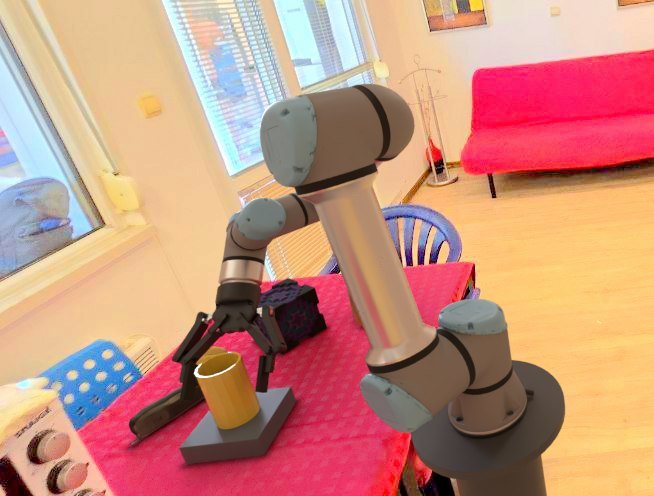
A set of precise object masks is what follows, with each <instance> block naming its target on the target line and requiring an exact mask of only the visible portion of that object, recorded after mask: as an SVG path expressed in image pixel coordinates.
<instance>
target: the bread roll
mask: <svg viewBox="0 0 654 496" xmlns="http://www.w3.org/2000/svg"><path fill="white" fill-rule="evenodd" d="M225 352H228V351H227V349H225V348H223V347H220V346H215V345H214V346H213V345H212V346H211V347H210V348H209V350H208V351H207V352H206V353H205V354H204V355H203V356H202V357H201V358H200V359H199V360H198V361H197V363H196V364H197V365H200V364H201V363H202V362H204V361H205V360H207V359H209V358H211V357H213V356H215V355H218V354H221V353H225Z"/></svg>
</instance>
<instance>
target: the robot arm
mask: <svg viewBox="0 0 654 496" xmlns="http://www.w3.org/2000/svg"><path fill="white" fill-rule="evenodd" d="M413 114H414V113H413V110H412V109H411V107H410V105H409V104H408V102H407V101H406V100H405V99H404V97H403V96H401V95H400V94H399V93H398V92H396V91H395V90H393V89H391V88H390V87H386V86H383V85H381V84H376V83H360V84H354V85H352V86H347V87H346V86H345V87H340V88H334V89H329V90H322V91H316V92H309V93H305V94H299V95H295V96H292V97H288V98H285V99H281V100H278V101H275V102H273V103H271V104H270V105H268V106H267V108H266V109H265V110H264V112H263V113H262V115H261V119H260V124H259V142H260V143H259V144H260V148H261V149H260V150H261V152H262V157H263V160H264V163H265V166H266V168H267V170H268V172H269V173H270V174H271V175H273V179H274V180H275V181H276V182H277V183H278V184H279V185H281V186H283V187H286V188H294V192H291V193H288V194H284V195H281V196H278V197H275V198H271V197H269V198H268V197H257V198H254V199H252V200H250V201H248V202H246V204H245V205H244V207H241V209H240V210H239V211H238V212H233V213H232V214H231V215H230V217H229V220H228V224H227V226H226V229H225V232H226V236H225V242H224V248H223V255H222V261H221V265H220V270H219V276H218V282H217V283H218V284H219V285H218V286H217V289H216V294H215V301H214V302H215V310H214V311H213V312H207V313H206V312H204V311H198V312H197V314H196V317H195V321H194V323H193V325H192V326H191V328H190V330H189V331H188V333H187V335H186V336H185V337H184V339H183V340H182V342H181V343H180V345H179V346H178V348H177V349H176V351H175V353H174V354H173V355H172V358H171V361H172V362H173V363H177V364H180V365H181V368H180V374H179V379H178V380H179V383H181V386H182V389H181V394H180V400H179V401H188V402H190V401H194V395H195V389H196V384H197V380H196V378H195V375H194V372H195V369H196V368H197V367H198V366H199V365H197V364H196V363H197V361H198V360H199V359H200V358H201V357H202V356H203V355H204V354H205V353H206V352H207V351H208V350H209V348H210V347H213V345H214V344H215V343H216V342H217V341H218V340H219V339H221V338H222V337H224V336H225V335H226V334H228V335H230V334H234V333H245V332H247V333H248V334H249V336H250V337H251V338H252V340H253V341H254V342H255V344H256V345H257V346H258V347H259V348H260V350H261V351H262V354H261V355H259V356H258V357H259V358H258V365H257V374H256V382H255V388H254V390H255V392H261V393H266V392H267V390H268V389H269V382H270V374H273V373H274V372H275V366H276V365H275V364H276V357H277V355H278V354H280V352H285V351H286V350H287V346H286V343H285V341H284V338H283V336H282V334H281V331H280V329H279V327H278V324H277V322H276V319H275V308H274V307H271V306H269V305H266V304H265V305H263V307H261V308H258V305H259V303H260V297H261V293H262V287H261V286H262V285H263V279H264V272H265V266H266V265H265V264H266V263H265V262H266V256H267V250H268V246H269V245H270V244H271V242H273V240H275V239H277V238H280V237H283V236H285V235H288V234H291V233H293V232H295V231H299V230H301V229H304V228H305V227H308V226H311V225H313V224H315V223H318V222H320V224H321V227H322V229H323V232H324V234H325V237H326V239H327V241H328V244H329V247H330V248H331V251H332V254H333V256H334V259H335V261H336V264H337V266H338V269H339V271H340V274H341V276H342V279H343V282H344V283H345V286H346V288H347V289H348V290H347V292H348V291H349V294H350V296H351V299H352V301H353V304H354V306H355V309H356V311H357V314H358V316H359V318H360V321H361V323H362V326H363V327H362V329H363V330H364V333H365V336H366V338H367V341H368V343H369V348H368V349H367V351H366V354H365V355H364V362H365V364H366V366H367V369H368V371H369V372H368V373H366V374H364V376H363V377H362V378H361V380H360V381H359V385H360V386H359V388H360V389H359V390H360V392H361V395H362V397H363V399H364V401H365V402H366V404H367V405H368V407H369V409H371V411H372V412H373V414H375V415H376V416H377V417H378V418H379V419H380V420H381V421H382V422H383V423H384V424H385V425H386V426H388V427H389V428H391V429H393V430H394V431H395V432H398V433H403V434H408V433H410V434H411V432H413V431H415V430H417V429H418V428H419V427H420V426H422V425H423V424H424V423H426V422H427V421H430V420H432V419H433V416H435V415H436V414H437V413H438V412H439V411H441V410H442V409H443V408H444V407H445V406H447V405H448V404H449V405H448V415H449V420H450V423H451V426H452V427H453V429H454V430H455V431H456V432H457V433H459V434H461V435H463V436H465V437H468V438H474V439H484V438H491V437H495V436H498V435H500V434H503V433H505V432H507V431H508V430H510V429H512V428H513V427H514V426H516V425H517V424H518V423H519V422H520V421H521V419H522V418H523V416H524V415H525V413H526V410H527V404H528V403H527V395H531V396H533V395H534V391H532V390H527V389H524V387H523V385H522V383H521V381H520V380H519V378H518V376H517V375H516V373H515V371H514V370H513V366H512V360H513V359H512V353H511V345H510V338H509V331H508V327H509V326H508V322H506V317H505V313H504V310H503V308H502V306H500V305H499V304H497V302H494V301H492V300H488V299H484V298H468V299H467V298H466V299H461V300H457V301H454V302H452V303H449V304H447V305H446V306H444V307H443V308H441V310H440V311H439V314H438V319H437V324H438V327H437V328H436V327H435V326H433V325H430V324H427V323H425V322H424V321H423V318H422V316H421V313H420V310H419V308H418V307H419V306H418V305H417V302H416V299H415V296H414V295H413V292H412V289H411V286H410V284H409V281H408V278H407V275H406V272H405V269H404V267H403V264H402V262H401V259H400V256H399V254H398V251H397V248H396V246H395V243H394V241H393V237H392V234H391V231H390V229H389V227H388V224H387V221H386V218H385V216H384V213H383V210H382V209H381V206H380V201H379V200H378V198H377V195H376V191H375V189H374V181H375V180H376V179H377V176H378V175H379V170H378V169H379V167H380V166H381V165H382V164H383V163H385V162H389V161H392V160H394V159H395V158H397V157H398V156H399V155H400V154H402V152H403V151H404V150H405V149H406V148H407V147H408V145H409V144H410V143H411V141H412V138H413V136H414V133H415V127H416V125H415V117H414V115H413ZM259 314H260V316H261V317H262V319H263V321H264V324H265V326H266V329H267V331H268V334H269V336H270V339H271V341H272V343H273V345H272V344H271V343H270V342H269V340H268V339H267V338H266V337H265V336H264V334H263V333H262V332H261V331H260V328H259V327H258V326H257V324H256V323H255V322H254V321H255V320H256V318H257V317H258V316H259ZM209 326H210V327H209Z"/></svg>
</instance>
